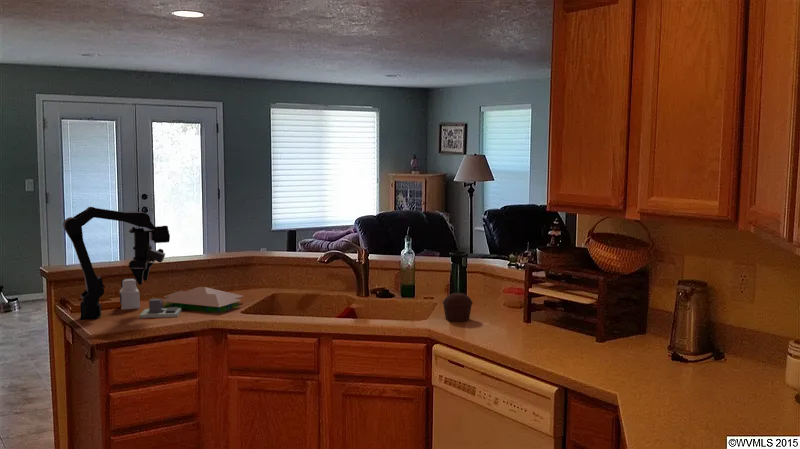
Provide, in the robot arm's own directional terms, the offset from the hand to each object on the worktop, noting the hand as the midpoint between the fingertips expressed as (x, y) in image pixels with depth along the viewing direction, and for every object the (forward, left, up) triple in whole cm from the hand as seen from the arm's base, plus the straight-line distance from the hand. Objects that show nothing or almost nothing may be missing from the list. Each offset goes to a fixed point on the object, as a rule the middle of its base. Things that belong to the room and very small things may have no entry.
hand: (142, 282), depth 290 cm
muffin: (+121, -30, -12) cm, 126 cm away
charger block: (+6, -5, -12) cm, 14 cm away
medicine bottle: (-7, +10, -12) cm, 17 cm away
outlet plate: (+8, -5, -12) cm, 15 cm away
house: (+22, +10, -13) cm, 28 cm away
